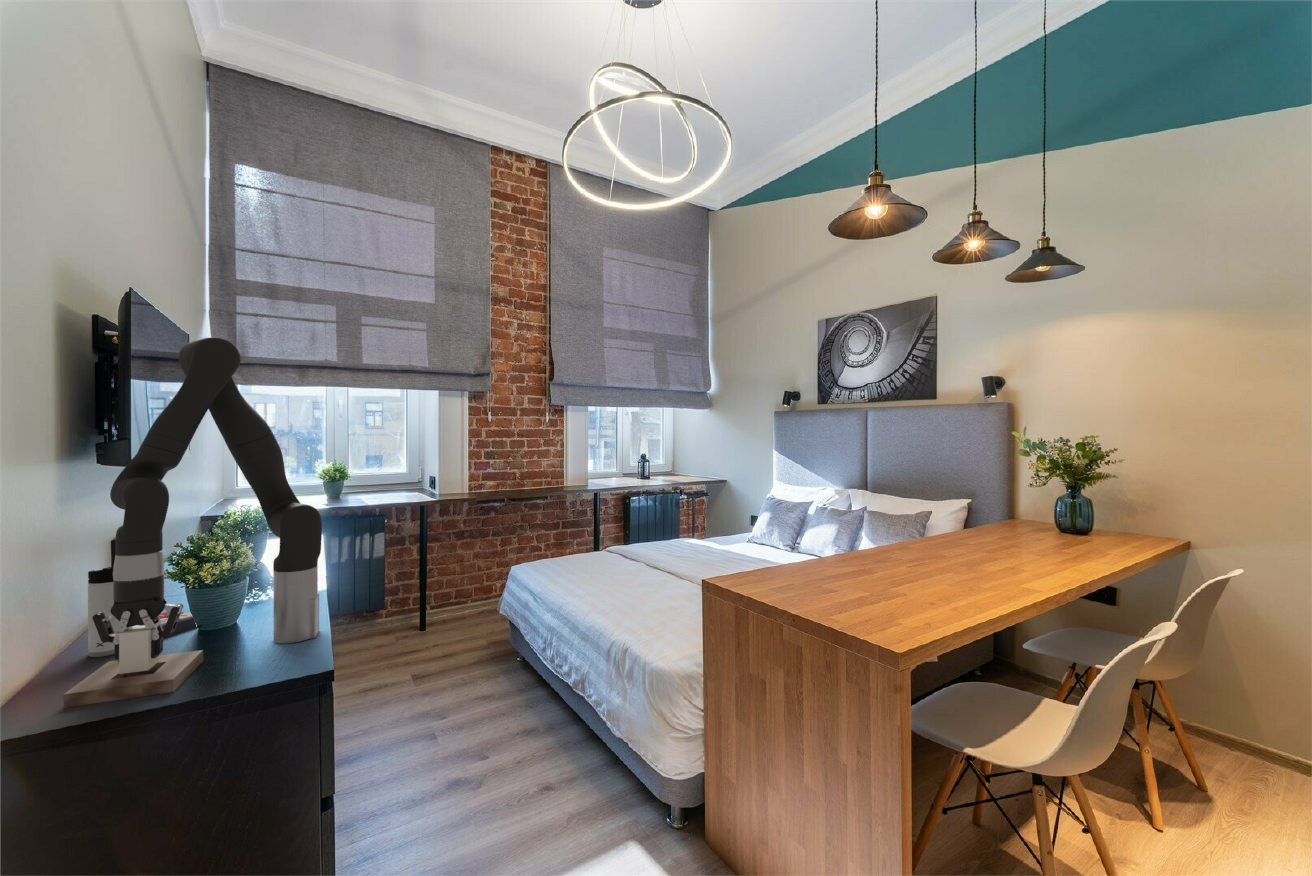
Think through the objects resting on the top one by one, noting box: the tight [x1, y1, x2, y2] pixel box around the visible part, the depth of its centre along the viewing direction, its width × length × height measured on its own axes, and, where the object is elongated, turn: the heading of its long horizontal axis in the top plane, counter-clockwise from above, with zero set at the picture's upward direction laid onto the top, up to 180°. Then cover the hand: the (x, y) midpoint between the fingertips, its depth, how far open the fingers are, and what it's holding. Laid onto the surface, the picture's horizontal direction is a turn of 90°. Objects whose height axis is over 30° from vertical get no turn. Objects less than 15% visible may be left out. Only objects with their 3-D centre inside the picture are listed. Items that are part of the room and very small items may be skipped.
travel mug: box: [87, 566, 120, 658], centre depth 127 cm, size 6×7×20 cm
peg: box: [119, 625, 158, 674], centre depth 112 cm, size 4×4×8 cm
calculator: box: [135, 611, 196, 639], centre depth 140 cm, size 11×4×15 cm
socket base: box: [63, 649, 204, 709], centre depth 112 cm, size 16×16×2 cm
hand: (139, 658), depth 112 cm, fingers closed on peg, 4 cm apart
